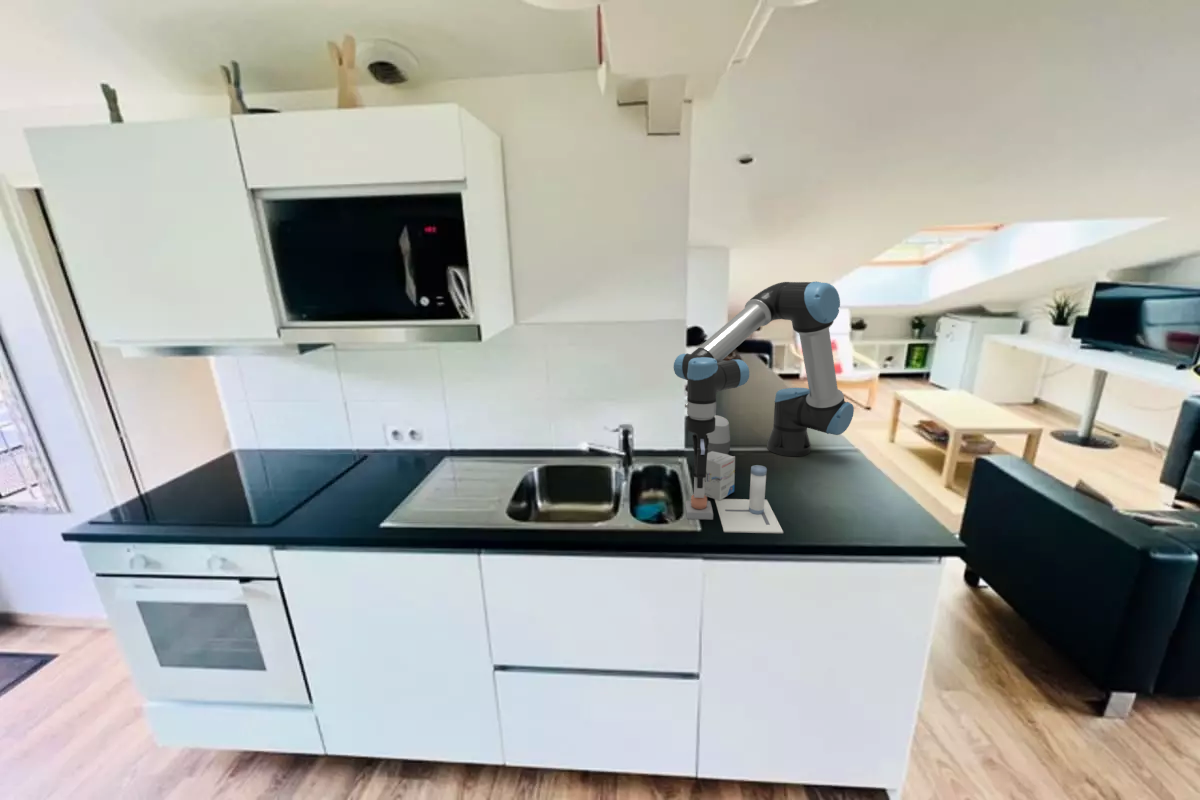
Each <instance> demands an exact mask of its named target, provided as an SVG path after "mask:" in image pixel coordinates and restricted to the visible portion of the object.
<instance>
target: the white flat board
mask: <svg viewBox="0 0 1200 800" xmlns="http://www.w3.org/2000/svg"><path fill="white" fill-rule="evenodd" d="M714 502H715V505H716V509H717V513H718V516H719V520H720V523H721V526H722V530H723V533H746V534H747V533H749V534H750V533H752V534H754V533H755V534H784V530H783V529H782V527H781V525H780V522H779V521H778V518H777V516H776V515H775V512H774V511H773V510H772V507H771V505H770V503H769V501H768V499H765V501H764V513H763V514H753V513H751V512H749V499H746V498H743V499H742V498H723V499H722V500H717V499H714Z"/></svg>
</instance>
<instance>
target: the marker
mask: <svg viewBox="0 0 1200 800" xmlns="http://www.w3.org/2000/svg"><path fill="white" fill-rule="evenodd" d="M767 471H768V469H767V467H766V466H764V465H759V464H756V465H752V466H750V483H749V485H750V486H749V512H751V513H753V514H763V513H764V501H765V500H766V499H765V498H766V497H765V496H766V486H767V485H766V484H767V483H766V482H767Z"/></svg>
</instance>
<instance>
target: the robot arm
mask: <svg viewBox="0 0 1200 800" xmlns="http://www.w3.org/2000/svg"><path fill="white" fill-rule="evenodd" d="M839 308H841V298H840V295H839V291H838V290H837V289H836V287H835V286H834V285H833V284H831V283H828V282H821V281H811V282H810V281H806V282H805V281H796V282H795V281H794V282H793V281H782V282H778V283H775V284H772V285H770V286H768V287H766V288H764V289H763V290H761V291H760V292H758V293H756V294H755V295H754V296H752V297H751V298H750V299H749V300H747V301H746V303H745V304H744V308H743V309H742V310H741V311H739V312H738V313H737V314H736V315H734V316H733V317H732V318H731V319H730V320H729V321H728V322H727V323H725V324H724V325H723V326H722V327H721V328H720V329H718V330H717V331H715V333H714V334H713V335H711V336H710V337H709V338H708V339H707V340H706V341H705V342H703V343H702V344H701V345H700V346H698V347H697V348H696V349H695V350H693V352H691V353H680V354H679V355H677V356H676V358H675V359H674V361H673V371H674V374H675V375H676V376H677V377H678V378H680V379H683V380H685V381H686V382H687V385H686V386H687V388H686V389H687V392H686V393H687V394H686V395H687V398H686V399H687V403H686V404H684V408H686V414H687V417H686V430H687V431H688V432H690V433H691V434H692V433H693V434H692V441H693V442H692V444H693V445H692V446H693V448H692V449H693V469H694V470H693V472H694V473H693V474H692V478H694V479H693V480H694V481H693V495H694V498H704V488H705V478H706V465H707V453H708V444H709V438H708V436H707V435H706V434H708V433H711V432H713V431H714V430H715V417H714V416H715V415H716V414H717V393H718V392H722V391H725V390H729V389H736V388H737V389H738V387H741V386H744V385H745V384H747V382H748V381H749V379H750V368H749V366H748V364H747V363H746V361H744V360H742V359H730V360H724V359H726V358H727V356H729V355H730V354H731V353H732V352H733V351H735V350H736V348H737V347H739V346H740V345H741V344H742V343H743V342H744V341H746V340H747V339H748V338H749V337H750V336H751V335H753V333H755V332H756V331H757V330H758V329H759V328H760V327H765V326H767V325H768V324H770V323H771V322H772V321H776V320H785V321H791V324H792V330H793V331H794V332H795V333H797V334H799V340H800V345H801V350H802V351H801V353H802V357H803V362H804V369H805V376H806V380H807V386H808V388H807V387H788V388H782V389H778V391H776V393H775V396H774V397H775V398H774V408H773V409H774V410H773V427H772V430H771V433H770V434H769V437H768V440H767V443H766V449H767V450H768V451H769V452H771V453H774V454H776V455H780V456H785V457H804V456H806V455H809V454H810V453H811V449H812V448H811V446H812V444H811V440H810V438H809V433H808V429H811V430H814V431H818V432H822V433H824V434H827V435H829V434H830V435H835V436H838V435H839V436H840V435H842V434H844V433H845V431H847V429H848V428H849V426H850V424H851V423H852V419H853V416H854V412H855V408H854V405H853V404H852V403H851V402H850V401H845V396H844V395H845V394H844V392H843V391H842V390H840V389H838V383H837V373H836V369H835V361H834V354H833V348H832V347H833V346H832V340H831V333H830V328H831V326H832V325H833V324H834V321H835V320H836V319H837V317H838V315H839V313H840V309H839Z"/></svg>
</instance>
